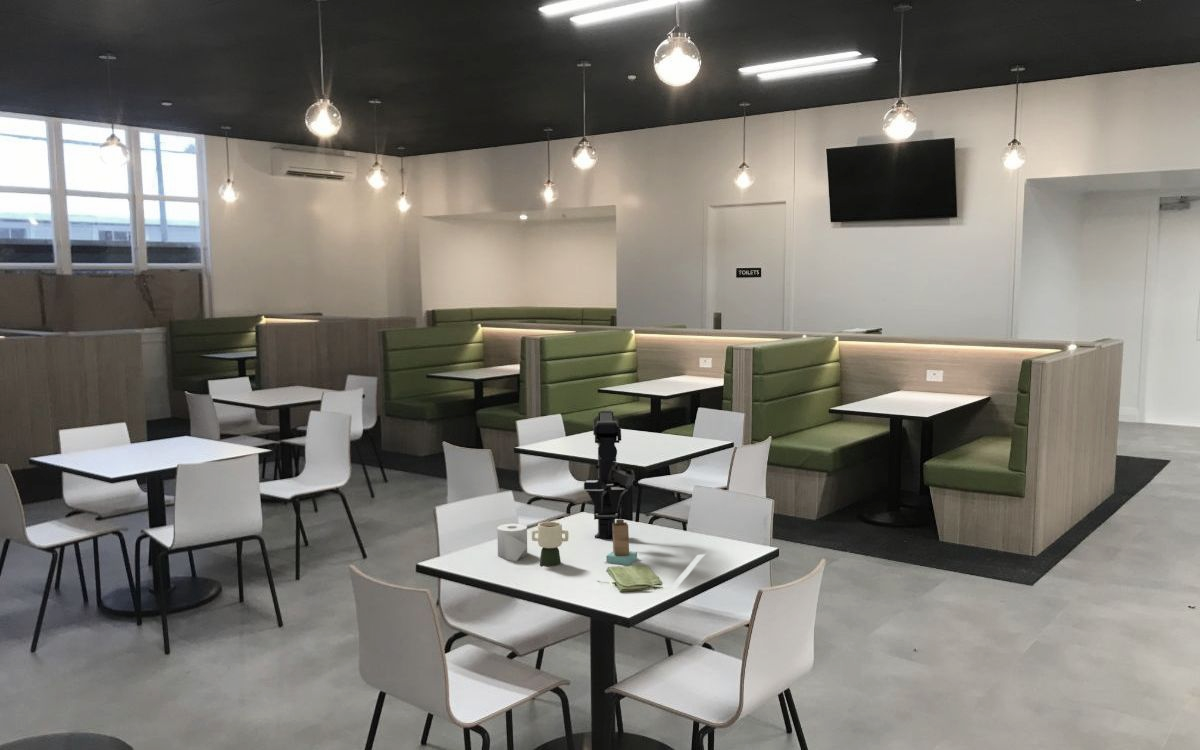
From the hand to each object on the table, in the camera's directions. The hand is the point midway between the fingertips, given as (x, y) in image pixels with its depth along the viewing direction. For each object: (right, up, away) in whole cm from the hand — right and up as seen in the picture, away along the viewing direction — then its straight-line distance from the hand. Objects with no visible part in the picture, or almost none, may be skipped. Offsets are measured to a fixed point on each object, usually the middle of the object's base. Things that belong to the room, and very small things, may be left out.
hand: (607, 512), depth 282 cm
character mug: (-17, -14, -14) cm, 26 cm away
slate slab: (+4, -15, -12) cm, 19 cm away
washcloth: (+7, -16, -28) cm, 33 cm away
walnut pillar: (+4, -10, -12) cm, 16 cm away
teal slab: (+4, -12, -11) cm, 17 cm away
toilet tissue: (-29, -13, -1) cm, 32 cm away
